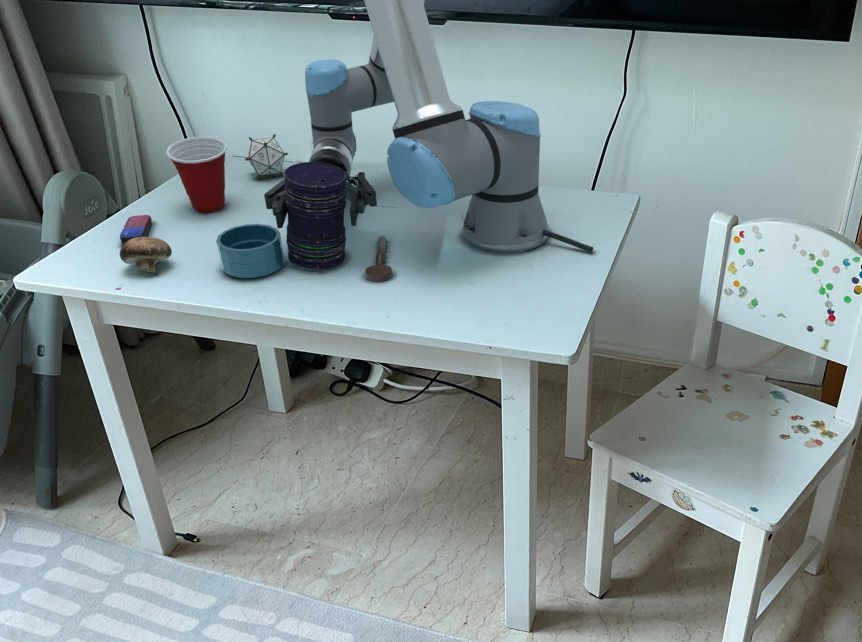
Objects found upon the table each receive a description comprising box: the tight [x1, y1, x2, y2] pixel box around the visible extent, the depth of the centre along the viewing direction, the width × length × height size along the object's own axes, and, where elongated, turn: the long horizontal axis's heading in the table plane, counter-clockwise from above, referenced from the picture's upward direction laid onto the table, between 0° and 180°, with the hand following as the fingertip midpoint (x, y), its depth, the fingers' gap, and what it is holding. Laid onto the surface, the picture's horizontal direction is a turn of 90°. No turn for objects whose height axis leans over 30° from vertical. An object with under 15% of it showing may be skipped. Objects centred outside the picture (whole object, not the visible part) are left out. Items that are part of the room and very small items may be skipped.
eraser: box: [119, 214, 153, 246], centre depth 161 cm, size 11×4×2 cm, turn 9°
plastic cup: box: [165, 136, 228, 214], centre depth 168 cm, size 11×11×12 cm
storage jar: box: [284, 161, 347, 271], centre depth 149 cm, size 10×10×15 cm
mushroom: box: [119, 236, 173, 274], centre depth 149 cm, size 8×8×6 cm
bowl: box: [215, 223, 285, 279], centre depth 150 cm, size 10×10×6 cm
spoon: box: [364, 235, 393, 283], centre depth 153 cm, size 15×4×1 cm, turn 4°
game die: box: [244, 133, 289, 181], centre depth 182 cm, size 9×8×10 cm
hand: (315, 219), depth 143 cm, fingers open, 11 cm apart
